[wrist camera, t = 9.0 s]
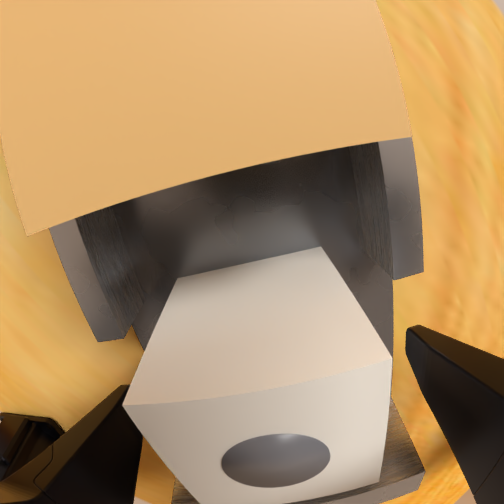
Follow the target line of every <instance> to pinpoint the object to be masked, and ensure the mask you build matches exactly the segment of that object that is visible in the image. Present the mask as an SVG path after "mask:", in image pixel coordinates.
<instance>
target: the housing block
mask: <svg viewBox="0 0 504 504" xmlns="http://www.w3.org/2000/svg"><path fill="white" fill-rule="evenodd" d="M391 377H392V357H391V355H390V353H389V352H388V350H387V348H386V347H385V345H384V343H383V342H382V340H381V338H380V337H379V335H378V334H377V332H376V330H375V329H374V327H373V325H372V324H371V322H370V321H369V319H368V317H367V316H366V314H365V313H364V311H363V309H362V308H361V306H360V305H359V303H358V302H357V300H356V299H355V297H354V295H353V294H352V292H351V291H350V289H349V288H348V286H347V285H346V283H345V282H344V280H343V279H342V277H341V275H340V274H339V272H338V271H337V269H336V268H335V266H334V265H333V263H332V262H331V260H330V259H329V257H328V256H327V255H326V253H325V252H324V250H323V249H322V247H316V248H312V249H307V250H303V251H299V252H294V253H290V254H285V255H281V256H276V257H272V258H267V259H263V260H258V261H254V262H249V263H245V264H240V265H236V266H231V267H227V268H222V269H218V270H213V271H208V272H204V273H199V274H195V275H190V276H186V277H181V278H177V280H176V283H175V285H174V287H173V289H172V291H171V293H170V295H169V298H168V300H167V302H166V304H165V306H164V309H163V311H162V313H161V315H160V317H159V320H158V322H157V324H156V326H155V329H154V331H153V333H152V335H151V338H150V340H149V342H148V344H147V347H146V349H145V351H144V354H143V356H142V358H141V361H140V363H139V365H138V368H137V370H136V373H135V375H134V377H133V380H132V382H131V385H130V387H129V390H128V392H127V394H126V397H125V399H124V402H123V404H122V406H123V407H124V409H125V410H126V412H127V413H128V415H129V416H130V418H131V419H132V421H133V422H134V423H135V425H136V426H137V428H138V429H139V430H140V432H141V433H142V435H143V436H144V437H145V439H146V440H147V441H148V443H149V444H150V445H151V447H152V448H153V449H154V451H155V452H156V453H157V454H158V456H159V457H160V458H161V459H162V461H163V462H164V463H165V464H166V466H167V467H168V468H169V469H170V470H171V472H172V473H173V474H174V475H175V476H176V478H177V479H178V480H179V481H180V482H181V483H182V485H183V486H184V487H185V488H186V489H187V490H188V491H189V492H190V493H191V495H192V496H193V497H194V498H195V499H196V500H197V501H198V502H199V503H200V504H285V503H292V502H298V501H304V500H309V499H314V498H319V497H324V496H328V495H333V494H337V493H341V492H345V491H349V490H353V489H357V488H360V487H364V486H367V485H371V484H374V483H377V482H379V478H380V473H381V467H382V461H383V454H384V447H385V440H386V432H387V424H388V414H389V404H390V391H391Z"/></svg>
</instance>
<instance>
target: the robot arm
mask: <svg viewBox="0 0 504 504" xmlns="http://www.w3.org/2000/svg"><path fill="white" fill-rule="evenodd" d="M405 350H406V355H407V358H408V360H409V362H410V365H411V367H412V370H413V372H414V374H415V377H416V379H417V382H418V384H419V387H420V389H421V391H422V394H423V396H424V398H425V399H426V401H427V403H428V405H429V407H430V409H431V411H432V412H433V414H434V416H435V418H436V420H437V422H438V424H439V426H440V428H441V429H442V431H443V433H444V435H445V437H446V439H447V441H448V443H449V445H450V447H451V449H452V451H453V453H454V455H455V457H456V459H457V461H458V463H459V466H460V468H461V470H462V472H463V474H464V476H465V478H466V480H467V483H468V485H469V487H470V489H471V491H472V494H473V495H474V499H475V501H476V503H477V504H504V359H502V358H500V357H497V356H495V355H493V354H490V353H488V352H485V351H483V350H480V349H478V348H475V347H473V346H470V345H468V344H465V343H463V342H461V341H458V340H456V339H453V338H451V337H448V336H446V335H443V334H441V333H439V332H436V331H434V330H431V329H429V328H426V327H424V326H421V325H415V326H412V327H409V328H408V329H407V331H406V347H405ZM130 385H131V384H128V385H121V386H119V387H118V388H117V389H116V390H115V391H113V392H112V393H111V394H110V395H109V396H108V397H107V398H105V399H104V400H103V401H102V402H101V403H100V404H98V405H97V406H96V407H95V408H94V409H93V410H91V411H90V412H89V413H88V414H87V415H86V416H84V417H83V418H82V419H81V420H80V421H79V422H77V423H76V424H75V425H74V426H73V427H72V428H70V429H69V430H68V431H67V432H66V433H65V434H64V432H63V431H62V430H61V429H60V428H59V426H58V425H57V424H56V423H55V422H54V421H53V420H51V419H49V418H43V417H33V416H24V415H16V414H9V413H0V420H1V423H0V504H133V502H134V495H135V488H136V481H137V474H138V468H139V462H140V456H141V449H142V440H143V435H142V433H141V432H140V430H139V429H138V428H137V426H136V425H135V423H134V422H133V421H132V419H131V418H130V416H129V415H128V413H127V412H126V410H125V409H124V407H123V406H122V404H123V402H124V399H125V397H126V394H127V392H128V390H129V387H130Z"/></svg>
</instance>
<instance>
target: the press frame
mask: <svg viewBox="0 0 504 504" xmlns="http://www.w3.org/2000/svg"><path fill="white" fill-rule="evenodd" d="M49 230H50V233H51V236H52V238H53V241H54V244H55V247H56V249H57V252H58V255H59V257H60V260H61V262H62V265H63V268H64V270H65V272H66V275H67V277H68V280H69V282H70V284H71V287H72V289H73V291H74V294H75V296H76V298H77V300H78V303H79V305H80V307H81V309H82V311H83V313H84V315H85V317H86V320H87V322H88V324H89V326H90V328H91V330H92V332H93V334H94V336H95V337H96V339H97V341H98V342H103V341H110V340H117V339H124V337H125V336H126V334H127V332H128V330H129V328H130V327H131V325H132V326H133V329H134V331H135V333H136V335H137V337H138V339H139V341H140V343H141V345H142V347H143V349H144V351H145V349H146V347H147V344H148V342H149V340H150V338H151V335H152V333H153V331H154V329H155V326H156V324H157V322H158V320H159V317H160V315H161V313H162V311H163V309H164V306H165V304H166V302H167V300H168V298H169V295H170V293H171V291H172V289H173V287H174V285H175V283H176V280H177V278H181V277H186V276H190V275H195V274H199V273H204V272H208V271H213V270H218V269H222V268H227V267H231V266H236V265H240V264H245V263H249V262H254V261H258V260H263V259H267V258H272V257H276V256H281V255H285V254H290V253H294V252H299V251H303V250H307V249H312V248H316V247H322V249H323V250H324V252H325V253H326V255H327V256H328V257H329V259H330V260H331V262H332V263H333V265H334V266H335V268H336V269H337V271H338V272H339V274H340V275H341V277H342V279H343V280H344V282H345V283H346V285H347V286H348V288H349V289H350V291H351V292H352V294H353V295H354V297H355V299H356V300H357V302H358V303H359V305H360V306H361V308H362V309H363V311H364V313H365V314H366V316H367V317H368V319H369V321H370V322H371V324H372V325H373V327H374V329H375V330H376V332H377V334H378V335H379V337H380V338H381V340H382V342H383V343H384V345H385V347H386V348H387V350H388V352H389V353H390V355H391V357H392V368H393V284H392V279H393V280H397V279H401V278H404V277H408V276H411V275H414V274H418V273H421V272H424V269H423V235H422V218H421V206H420V195H419V185H418V177H417V169H416V161H415V154H414V148H413V142H412V137H408V138H400V139H393V140H386V141H379V142H372V143H366V144H360V145H354V146H348V147H342V148H336V149H331V150H325V151H320V152H315V153H310V154H305V155H300V156H295V157H290V158H285V159H280V160H276V161H271V162H267V163H262V164H258V165H254V166H250V167H245V168H241V169H237V170H233V171H229V172H225V173H221V174H217V175H213V176H209V177H206V178H202V179H198V180H195V181H191V182H187V183H184V184H180V185H177V186H173V187H170V188H166V189H163V190H159V191H156V192H153V193H149V194H146V195H143V196H140V197H137V198H133V199H130V200H127V201H124V202H121V203H118V204H115V205H112V206H109V207H106V208H103V209H100V210H97V211H94V212H91V213H88V214H85V215H83V216H80V217H77V218H74V219H72V220H69V221H66V222H63V223H61V224H58V225H55V226H53V227H50V228H49ZM391 387H392V377H391ZM424 474H425V469H424V467H423V465H422V462H421V460H420V458H419V456H418V453H417V451H416V449H415V447H414V445H413V442H412V440H411V438H410V436H409V434H408V432H407V430H406V427H405V425H404V423H403V421H402V419H401V417H400V415H399V413H398V411H397V409H396V406H395V404H394V402H393V400H392V398H391V391H390V404H389V414H388V424H387V432H386V440H385V447H384V454H383V461H382V467H381V473H380V478H379V482H377V483H374V484H371V485H367V486H364V487H360V488H357V489H353V490H349V491H345V492H341V493H337V494H333V495H328V496H324V497H319V498H314V499H309V500H304V501H298V502H292V503H285V504H379V503H382V502H385V501H388V500H391V499H394V498H397V497H400V496H403V495H405V494H408V493H411V492H413V491H416V490H418V488H419V486H420V483H421V481H422V479H423V476H424ZM171 504H200V503H199V502H198V501H197V500H196V499H195V498H194V497H193V496H192V495H191V493H190V492H189V491H188V490H187V489H186V488H185V487H184V486H183V485H182V483H181V482H180V481H179V480H178V479H177V478H175V484H174V490H173V496H172V503H171Z"/></svg>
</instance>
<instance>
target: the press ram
mask: <svg viewBox="0 0 504 504" xmlns="http://www.w3.org/2000/svg"><path fill="white" fill-rule="evenodd" d="M0 137H1V142H2V147H3V152H4V157H5V162H6V166H7V170H8V175H9V179H10V183H11V186H12V190H13V194H14V197H15V201H16V204H17V208H18V211H19V214H20V218H21V221H22V224H23V227H24V230H25V233H26V236H30V235H32V234H35V233H37V232H40V231H42V230H45V229H48V228H50V227H53V226H55V225H58V224H61V223H63V222H66V221H69V220H72V219H74V218H77V217H80V216H83V215H85V214H88V213H91V212H94V211H97V210H100V209H103V208H106V207H109V206H112V205H115V204H118V203H121V202H124V201H127V200H130V199H133V198H137V197H140V196H143V195H146V194H149V193H153V192H156V191H159V190H163V189H166V188H170V187H173V186H177V185H180V184H184V183H187V182H191V181H195V180H198V179H202V178H206V177H209V176H213V175H217V174H221V173H225V172H229V171H233V170H237V169H241V168H245V167H250V166H254V165H258V164H262V163H267V162H271V161H276V160H280V159H285V158H290V157H295V156H300V155H305V154H310V153H315V152H320V151H325V150H331V149H336V148H342V147H348V146H354V145H360V144H366V143H372V142H379V141H386V140H393V139H400V138H408V137H412V132H411V126H410V121H409V116H408V111H407V106H406V101H405V97H404V92H403V88H402V84H401V80H400V76H399V72H398V68H397V65H396V61H395V58H394V54H393V51H392V47H391V44H390V41H389V38H388V34H387V31H386V28H385V25H384V22H383V19H382V17H381V14H380V11H379V8H378V6H377V3H376V0H0Z"/></svg>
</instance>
